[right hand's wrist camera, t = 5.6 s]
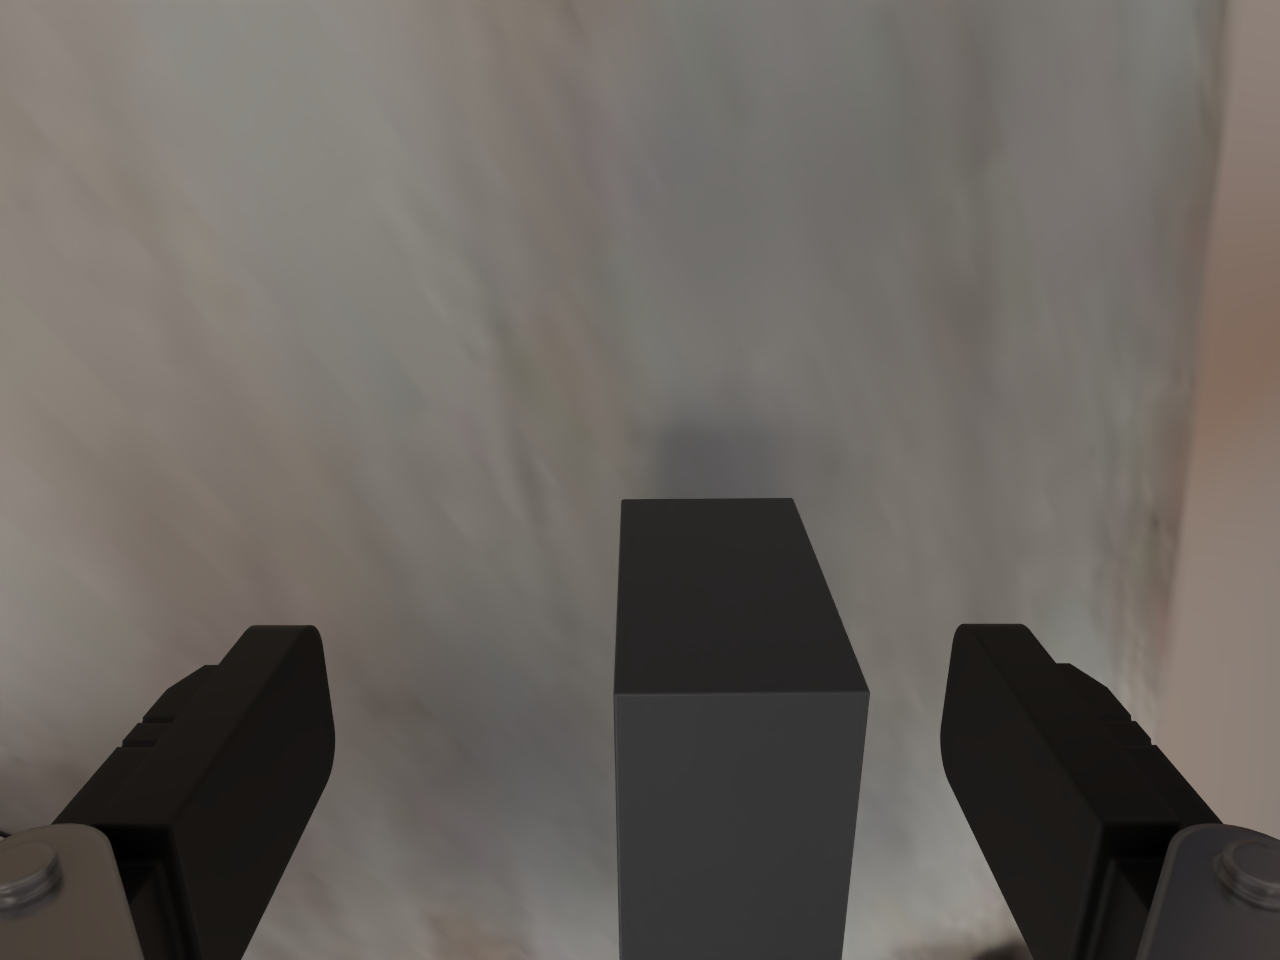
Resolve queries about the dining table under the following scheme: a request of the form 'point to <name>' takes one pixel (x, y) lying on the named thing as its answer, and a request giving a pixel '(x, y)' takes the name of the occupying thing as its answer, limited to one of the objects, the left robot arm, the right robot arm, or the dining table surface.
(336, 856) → the dining table surface
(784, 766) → the box
